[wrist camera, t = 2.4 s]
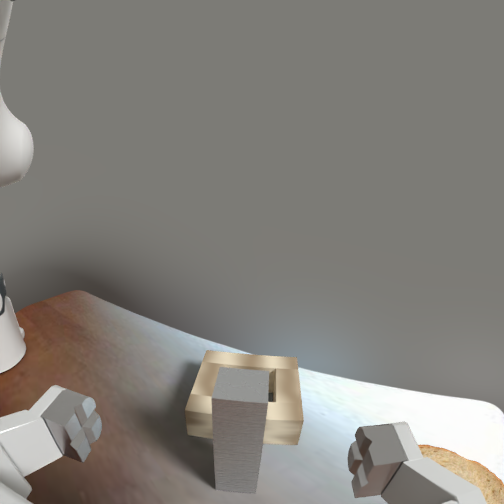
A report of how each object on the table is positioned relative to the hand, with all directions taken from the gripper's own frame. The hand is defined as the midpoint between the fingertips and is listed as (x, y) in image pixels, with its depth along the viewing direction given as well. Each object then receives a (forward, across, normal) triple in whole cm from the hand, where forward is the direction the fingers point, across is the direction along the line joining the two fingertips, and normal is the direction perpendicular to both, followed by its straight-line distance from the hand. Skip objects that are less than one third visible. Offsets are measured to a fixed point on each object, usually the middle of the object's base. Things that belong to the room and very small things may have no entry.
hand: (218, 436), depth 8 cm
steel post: (+12, 0, +22) cm, 25 cm away
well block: (+24, 0, +22) cm, 33 cm away
